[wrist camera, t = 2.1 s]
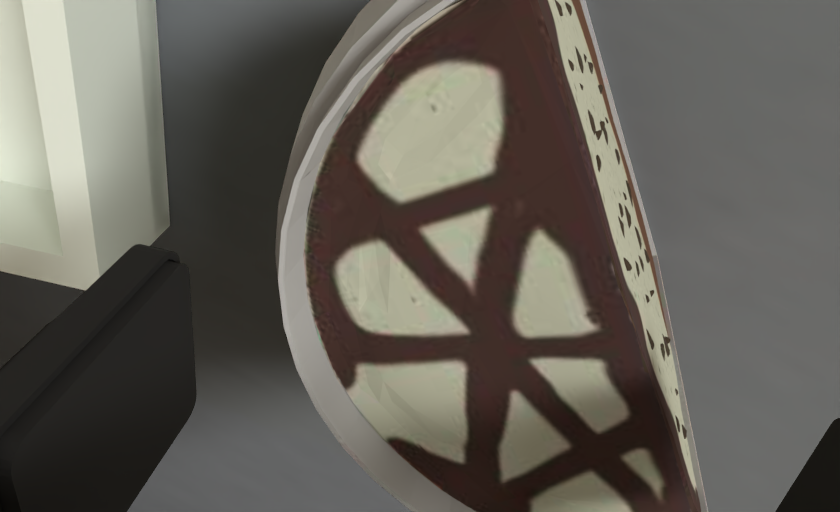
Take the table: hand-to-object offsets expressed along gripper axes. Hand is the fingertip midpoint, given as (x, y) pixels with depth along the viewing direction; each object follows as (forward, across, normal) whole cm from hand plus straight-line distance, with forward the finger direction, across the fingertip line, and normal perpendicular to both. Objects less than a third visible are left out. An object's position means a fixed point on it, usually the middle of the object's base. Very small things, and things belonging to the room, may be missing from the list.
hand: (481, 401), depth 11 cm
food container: (+11, +1, +1) cm, 11 cm away
